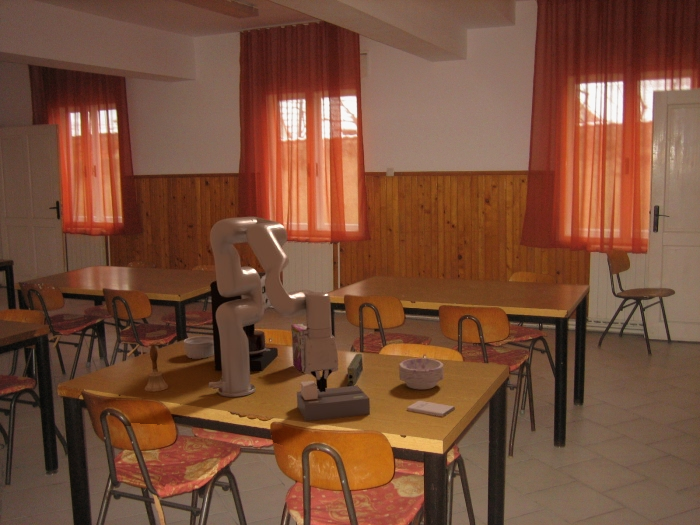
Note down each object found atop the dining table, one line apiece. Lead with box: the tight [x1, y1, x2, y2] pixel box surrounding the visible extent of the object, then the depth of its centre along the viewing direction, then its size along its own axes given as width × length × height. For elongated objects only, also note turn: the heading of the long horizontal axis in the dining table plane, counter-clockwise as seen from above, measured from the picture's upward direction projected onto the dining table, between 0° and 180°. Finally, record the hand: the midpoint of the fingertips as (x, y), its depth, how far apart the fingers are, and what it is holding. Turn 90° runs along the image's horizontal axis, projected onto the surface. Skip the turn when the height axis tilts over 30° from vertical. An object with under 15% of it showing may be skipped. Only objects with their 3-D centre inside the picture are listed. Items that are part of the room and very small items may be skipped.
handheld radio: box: [346, 353, 364, 387], centre depth 248 cm, size 7×3×25 cm
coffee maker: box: [209, 272, 279, 373], centre depth 271 cm, size 28×20×35 cm
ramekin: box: [183, 335, 214, 360], centre depth 289 cm, size 13×13×7 cm
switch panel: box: [296, 385, 371, 422], centre depth 215 cm, size 20×14×5 cm
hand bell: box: [144, 343, 169, 393], centre depth 244 cm, size 8×8×16 cm
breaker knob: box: [300, 380, 318, 400], centre depth 213 cm, size 4×6×4 cm, turn 14°
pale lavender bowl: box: [398, 357, 444, 391], centre depth 238 cm, size 15×15×8 cm
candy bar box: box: [290, 323, 307, 373], centre depth 264 cm, size 11×5×16 cm, turn 22°
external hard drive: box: [406, 400, 456, 418], centre depth 214 cm, size 2×8×12 cm
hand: (322, 390), depth 214 cm, fingers closed
